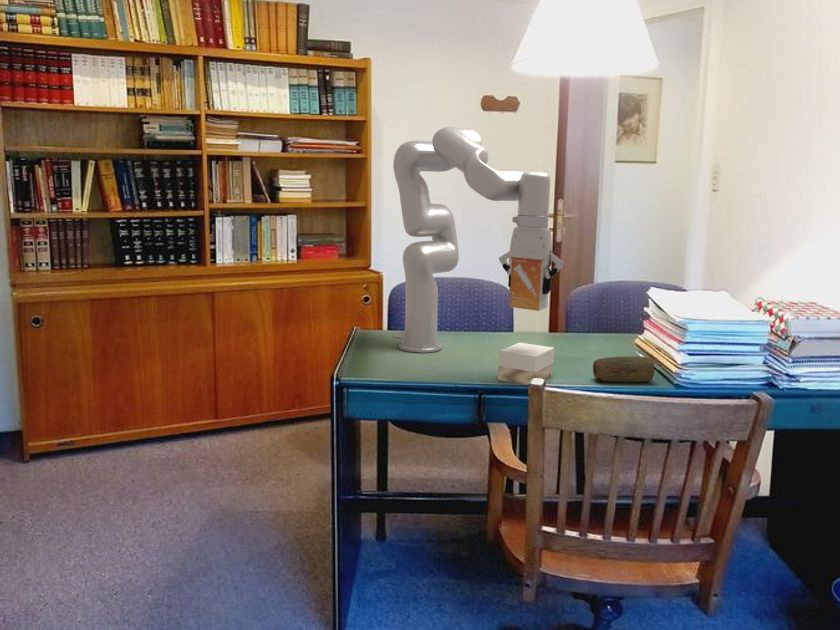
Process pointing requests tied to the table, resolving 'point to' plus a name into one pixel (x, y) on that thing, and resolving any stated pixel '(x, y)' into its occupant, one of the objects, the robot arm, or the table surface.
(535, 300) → the small box
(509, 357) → the white flat block
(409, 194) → the robot arm
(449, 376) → the table surface
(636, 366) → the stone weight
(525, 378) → the tower bottom
